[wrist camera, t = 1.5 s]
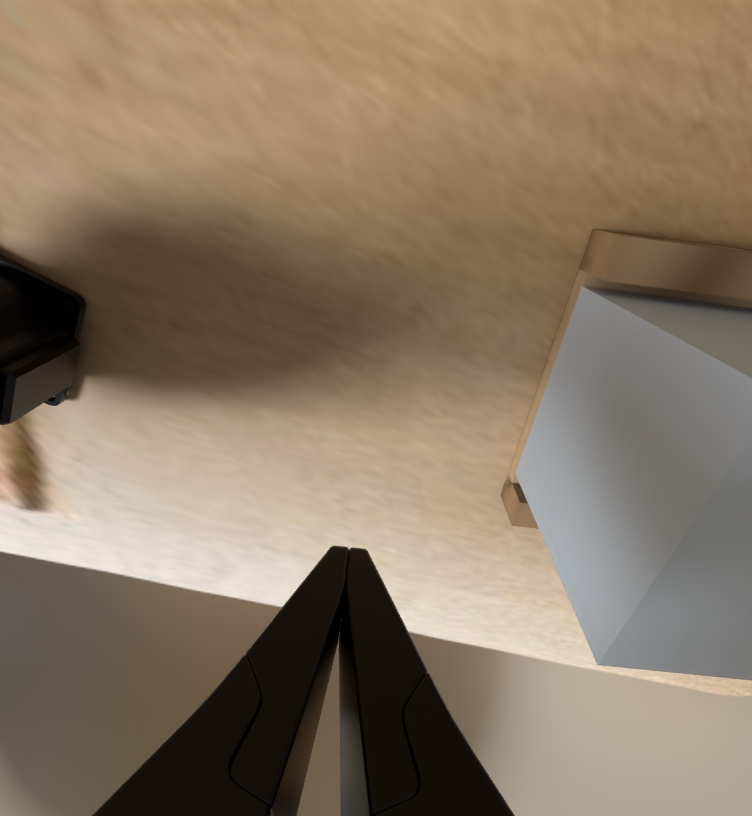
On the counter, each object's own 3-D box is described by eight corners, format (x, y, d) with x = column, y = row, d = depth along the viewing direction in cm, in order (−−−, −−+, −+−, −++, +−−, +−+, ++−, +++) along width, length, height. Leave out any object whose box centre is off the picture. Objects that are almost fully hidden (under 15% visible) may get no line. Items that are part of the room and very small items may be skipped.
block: (515, 473, 22) (597, 664, 13) (582, 286, 17) (780, 393, 8) (676, 491, 22) (861, 691, 14) (787, 312, 17) (1184, 442, 9)
